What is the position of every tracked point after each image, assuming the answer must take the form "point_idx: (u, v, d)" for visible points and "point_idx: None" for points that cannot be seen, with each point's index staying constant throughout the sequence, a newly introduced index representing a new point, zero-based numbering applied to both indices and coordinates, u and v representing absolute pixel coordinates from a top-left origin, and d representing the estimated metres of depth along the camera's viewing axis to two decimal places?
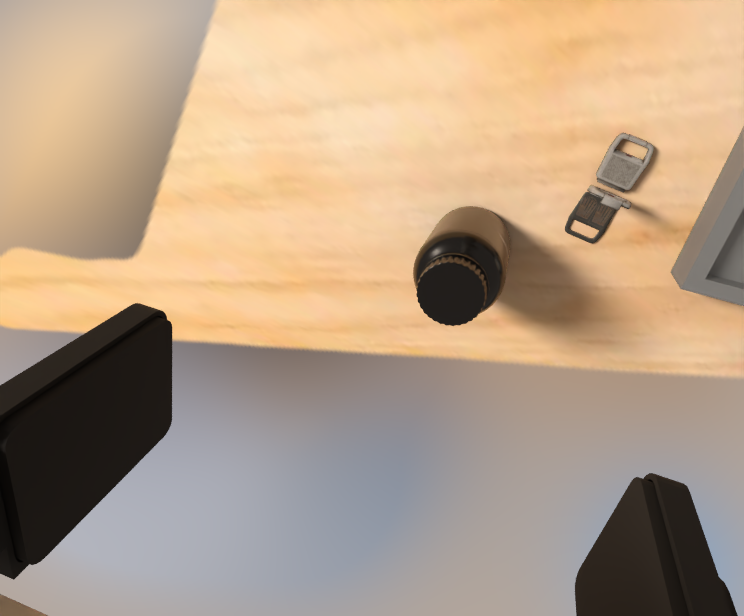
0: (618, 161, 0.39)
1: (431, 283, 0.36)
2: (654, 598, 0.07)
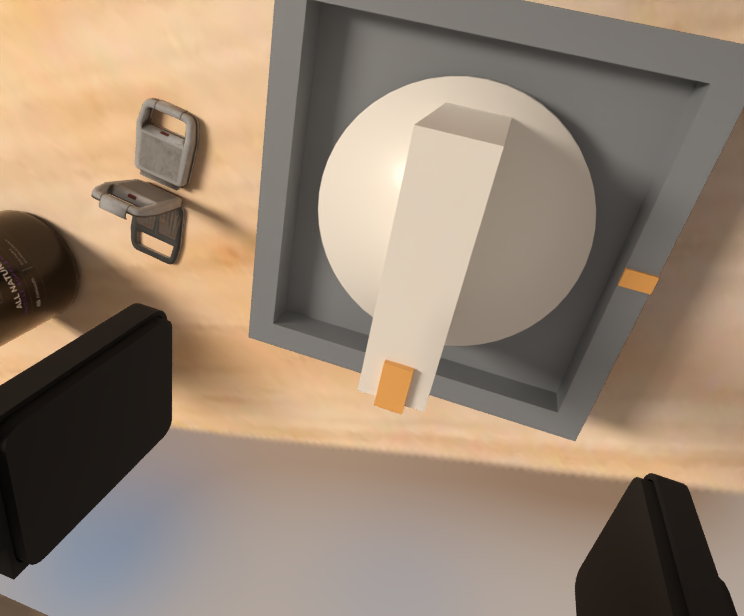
0: (152, 142, 0.26)
1: None
2: (654, 598, 0.07)
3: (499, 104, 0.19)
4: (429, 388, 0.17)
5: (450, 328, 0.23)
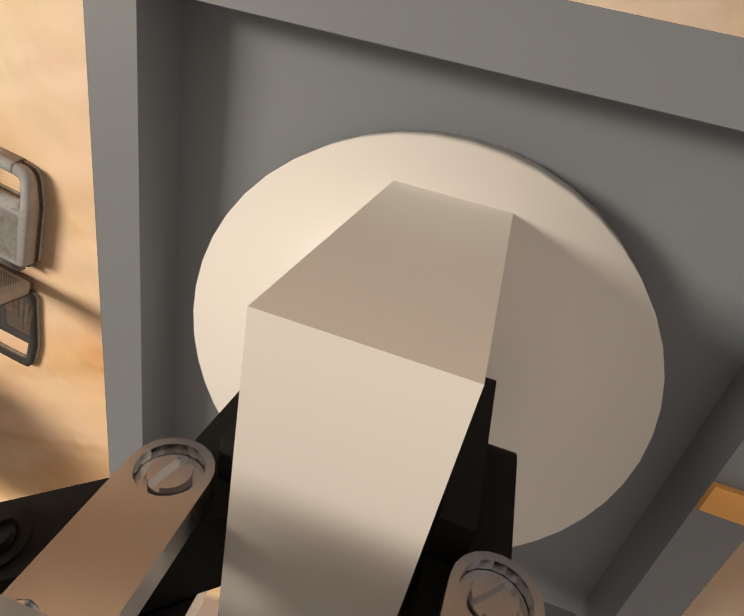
0: None
1: None
2: None
3: (490, 189, 0.10)
4: None
5: None
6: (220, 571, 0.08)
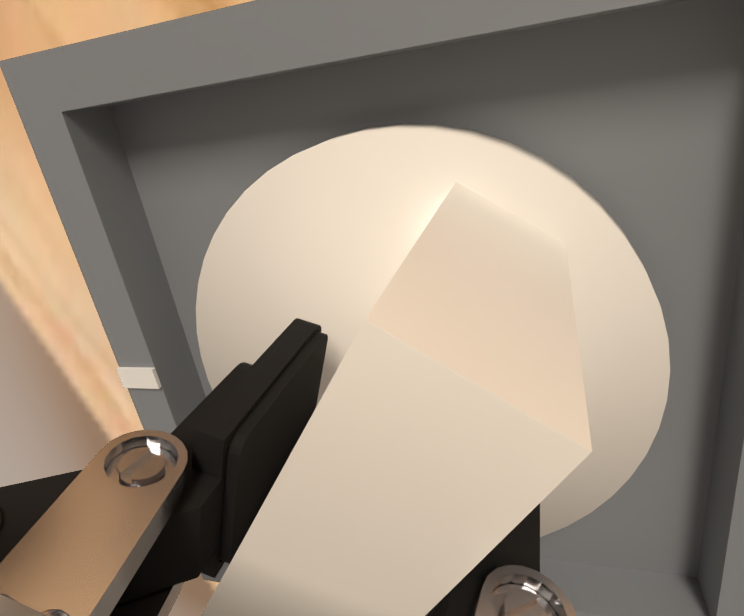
0: None
1: None
2: None
3: (550, 215, 0.10)
4: None
5: None
6: (194, 563, 0.08)
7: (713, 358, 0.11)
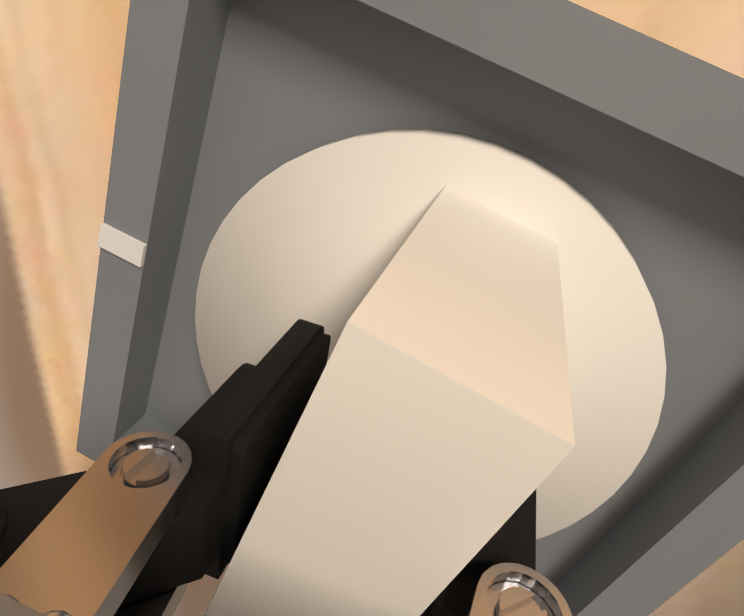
0: None
1: None
2: None
3: (541, 215, 0.10)
4: None
5: None
6: (198, 564, 0.08)
7: (648, 479, 0.13)
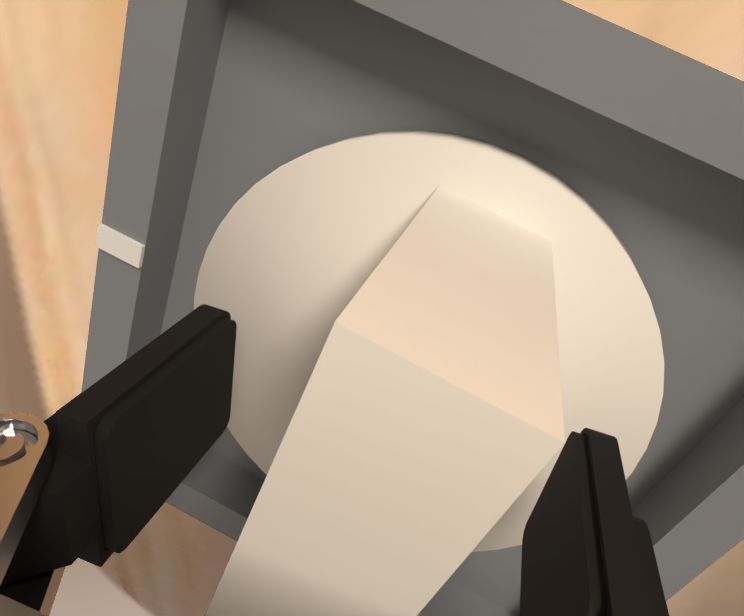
0: None
1: None
2: (574, 530, 0.08)
3: (535, 213, 0.10)
4: None
5: None
6: (64, 550, 0.08)
7: (646, 480, 0.13)
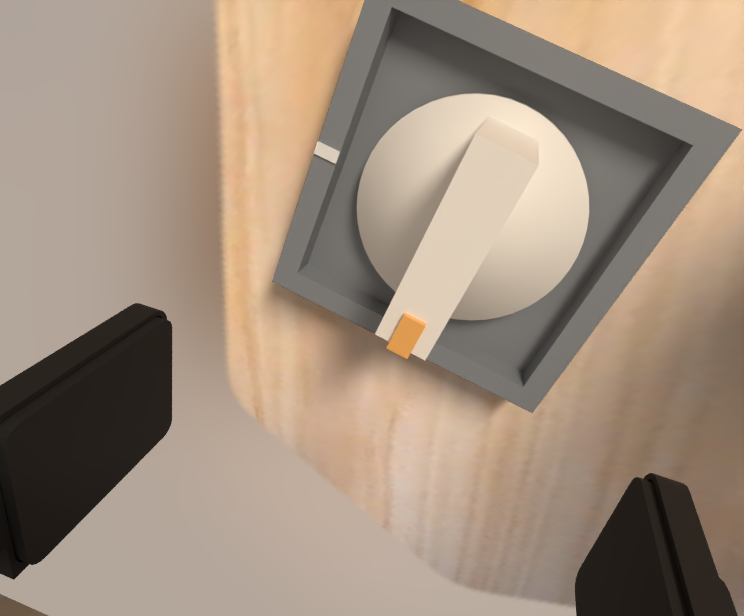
0: None
1: None
2: (654, 598, 0.07)
3: (531, 127, 0.23)
4: (434, 342, 0.22)
5: None
6: None
7: (587, 272, 0.26)
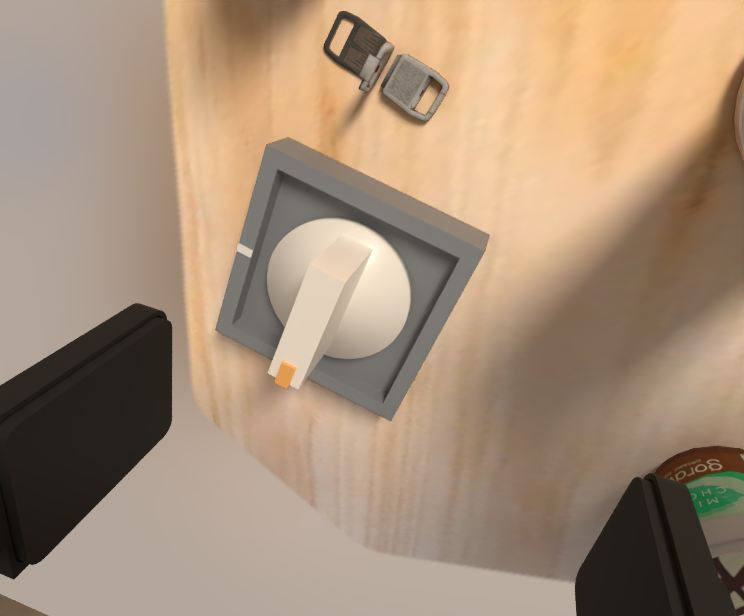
0: (417, 80, 0.33)
1: None
2: (654, 598, 0.07)
3: (367, 242, 0.36)
4: (302, 378, 0.35)
5: (330, 347, 0.41)
6: None
7: (418, 328, 0.39)
